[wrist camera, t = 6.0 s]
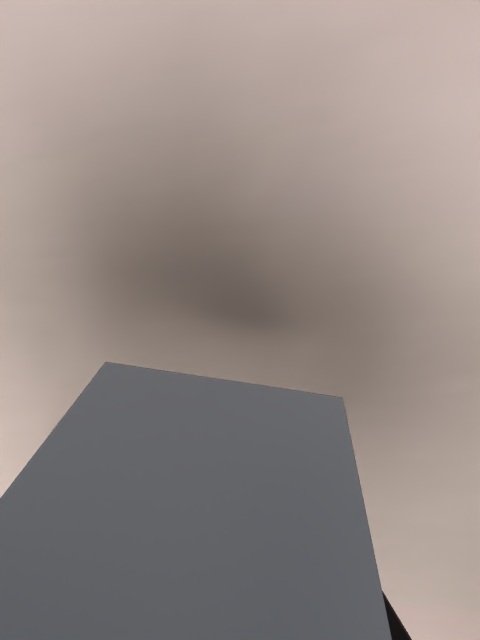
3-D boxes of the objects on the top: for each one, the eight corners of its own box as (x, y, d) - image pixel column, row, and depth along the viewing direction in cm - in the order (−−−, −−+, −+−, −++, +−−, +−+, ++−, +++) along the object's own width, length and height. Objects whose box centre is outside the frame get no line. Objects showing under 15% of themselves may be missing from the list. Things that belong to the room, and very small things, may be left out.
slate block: (342, 397, 9) (474, 1044, 3) (301, 562, 11) (319, 1149, 5) (105, 362, 9) (-296, 881, 3) (108, 529, 11) (-123, 1051, 5)
